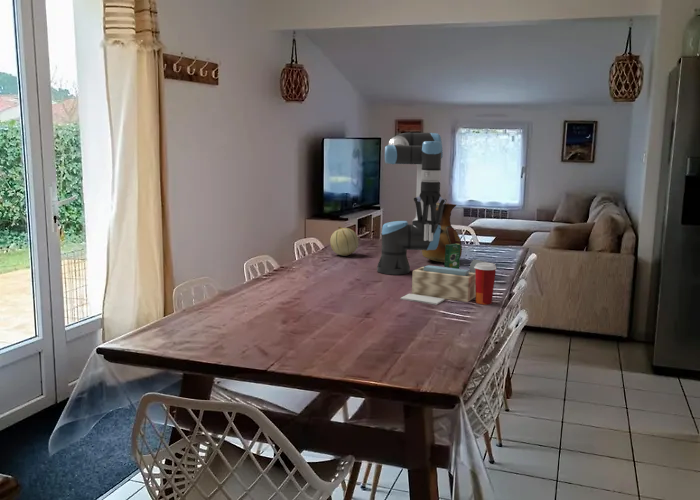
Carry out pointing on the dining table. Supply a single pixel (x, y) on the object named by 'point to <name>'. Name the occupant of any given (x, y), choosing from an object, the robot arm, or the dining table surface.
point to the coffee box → (452, 256)
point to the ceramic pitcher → (444, 235)
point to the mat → (422, 299)
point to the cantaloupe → (344, 241)
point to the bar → (446, 270)
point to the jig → (443, 285)
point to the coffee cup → (484, 282)
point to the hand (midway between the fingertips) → (428, 240)
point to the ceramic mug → (474, 265)
